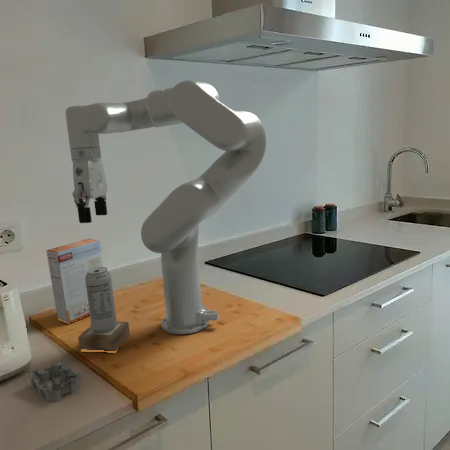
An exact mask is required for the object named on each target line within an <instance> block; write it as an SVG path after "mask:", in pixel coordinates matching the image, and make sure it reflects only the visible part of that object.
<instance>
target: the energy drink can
mask: <svg viewBox="0 0 450 450" xmlns="http://www.w3.org/2000/svg"><path fill="white" fill-rule="evenodd" d="M108 270H109V269H108V267H105V266H104V267H97V268H92V269H89V270H88V271H87V275H86V277H85V283H86V290H87V298H88V305H89V312H90V316H89V318H90V319H89V320H90V326H91V327H92V329H94V331H95V332H96V333H106V332H110V331H112V330H113V329H114V328H115V326H116V324H117V322H118V321H117V314H116V306H115V305H116V304H115V297H114V290H113V282H112V274H111V272H109V271H108Z"/></svg>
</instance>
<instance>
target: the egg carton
mask: <svg viewBox="0 0 450 450" xmlns="http://www.w3.org/2000/svg"><path fill="white" fill-rule="evenodd" d="M27 373H29V374H30V376H31V378H30V385H31V389H32V390H33V391H34V390H35V391H36V390H37V392H38V395H41V396H45V400H46V402H53V401H54V402H59V401H61V400H62V396H64V395H66V394H72V395H73V394H75V393H77V392H78V391H77V389H79V388H80V383H79V376H80V374H79V373H77V372H76V370H74V369H73V368H71V367H69V366H68V365H67V364H66V363H65V362H63V361H60V362H57V363H56V364H51V366H49V367H47V366H45V367H44V369H43V371H41V372H39V370H38V369H33V370H30V369H27ZM50 379H51V381H50V382H48V381H49V380H50ZM47 382H48V383H47ZM42 383H47V384H44V385H42Z"/></svg>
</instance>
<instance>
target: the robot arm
mask: <svg viewBox="0 0 450 450" xmlns="http://www.w3.org/2000/svg"><path fill="white" fill-rule="evenodd" d="M65 121H66V127H67V136H68V143H69V150H70V157H71V158H70V160H71V162H72V176H73V187H74V190H73V191H72V197H73V199H74V204H75V207H76V209H77V215H78V222H79V223H80V224H91V223H92V221H93V220H92V212H91V207H90V206H89V205H90V199H92V200H94V202H93V203H94V211H95V215H96V216H106V215H108V207H107V196H106V195H107V193H108V186H107V179H106V174H105V169H104V165H103V160H102V153H101V144H100V138H99V137H100V134H102V135H104V134H105V135H106V134H107V135H108V134H116V133H125V132H126V133H127V132H132V131H137V130H144V129H148V128H149V129H150V128H161V127H162V128H163V127H166V126H173V125H178V124H184V125H185V126H187V127H188V128H189V129H191V130H193V132H194V133H196V134H197V135H199V136H200V137H202V138H203V139H204V140H206V142H208V143H210V144H211V145H213V146H214V147H216V148H217V149H219V150H222V151H225V152H224V153H223V154H221V155H220V156H219V157H217V159H216V160H215V161H214V162H213V163H212V164H211V165H210V166H209V167H208V168H207V169H206V170H205V171H204V172H203V173H202V174H201V175H200V176H198V177H197V178H195V179H193V180H190V181H188V182H184V183H183V184H180V185H179V186H177V187H176V188H175V189H174V190H172V191H171V192H169V194H168V195H167V196H166V197H165V198H164V200H162V201H161V203H159V204H158V206H156V208H155V209H154V210H153V211H152V212H151V213H150V214H149V215H148V216H147V217H146V218H145V220H144V221H143V223H142V226H141V229H140V239H141V241H142V243H143V245H144V247H145V248H146V249H148V251H151V252H153V253H156V254H160V264H161V276H162V277H161V278H162V284H163V287H162V288H163V294H164V295H163V297H164V306H165V316H166V317H164V318H163V319H162V320H161V321H160V326H161V327H160V328H161V329H162V330H163V331H164V332H165V333H167V334H170V335H172V334H173V335H189V334H194V333H197V332H199V331H202V330H204V329H206V328H207V327H208V326H209V323H210V321H217V322H218V321H219V319H220V317H219V316H220V314H219V312H217V310H216V309H210V310H209V309H207V308H206V304H203V301H202V290H201V289H202V288H201V276H200V262H199V261H200V260H199V234H200V233H199V232H200V230H199V229H200V226H199V225H200V224H201V223H202V222H203V221H205V220H207V219H208V218H210V217H212V216H213V215H215V214H216V213H217V212H218V211H219V210H220V208H221V207H222V206H223V205H224V204H225V203H226V202H227V201H228V200H229V199H231V197H233V195H234V194H235V193H236V192H237V191H238V190H239V189H240V188H241V187H242V186H243V184H244V183H246V182H247V181H248V180H249V179H250V177H251V176H253V174H254V173H255V172H256V170H257V169H258V167H259V166H260V165H261V162H262V161H263V158H264V155H265V152H266V150H267V149H266V148H267V136H266V131H265V127H264V125H263V123H262V121H261V120H260V118H259V117H258V116H257V115H256V114H254V113H253V112H249V111H247V110H233V109H231V108H230V107H228V106H227V105H225V104H224V103H222V102H220V95H219V93H218V91H217V89H216V88H215V87H214V85H212V84H210V83H208V82H204V81H198V80H192V79H191V80H182V81H179V82H178V83H177V84H176V85H174V87H168V88H162V89H157V90H151V91H150V92H149V93H148V94H147V96H146V97H145V98H141V99H137V100H131V101H125V102H96V103H92V104H88V105H72V106H68V107H67V108H66V109H65Z"/></svg>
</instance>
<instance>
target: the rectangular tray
mask: <svg viewBox="0 0 450 450" xmlns="http://www.w3.org/2000/svg"><path fill="white" fill-rule="evenodd" d="M130 338H131V333H130V324H129V321H117V324H116V326H115V328H114V329H113V330H112V331H110V332H106V333H96V332H95V331H94V329H92V327H91V325H89V326H88V327H87V328H86V329H85V330H83V332H82V333H81V334H80V335H79V336H78V344H79V350H80V349H87V350H104V351H116V350H117V349H118V348H120V346H121V345H122V344H123V343H124V342H125V341H126V340H127V341H128V339H130ZM127 341H126V342H127ZM126 342H125V343H126ZM125 343H124V344H125ZM124 344H123V345H124ZM123 345H122V346H123ZM120 349H121V348H120Z"/></svg>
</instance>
